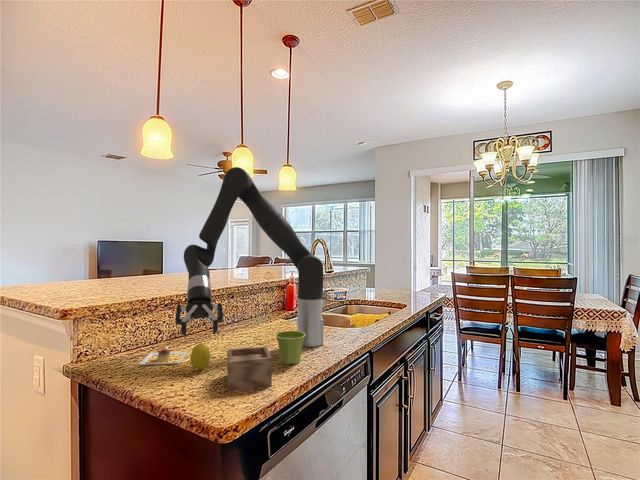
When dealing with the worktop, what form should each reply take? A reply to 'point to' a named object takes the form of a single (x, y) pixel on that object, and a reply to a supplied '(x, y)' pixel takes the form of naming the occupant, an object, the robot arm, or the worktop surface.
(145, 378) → the worktop surface
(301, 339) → the plant pot
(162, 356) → the white square frame
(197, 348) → the lemon
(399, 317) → the worktop surface
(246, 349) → the wooden box
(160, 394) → the worktop surface
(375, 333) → the worktop surface
